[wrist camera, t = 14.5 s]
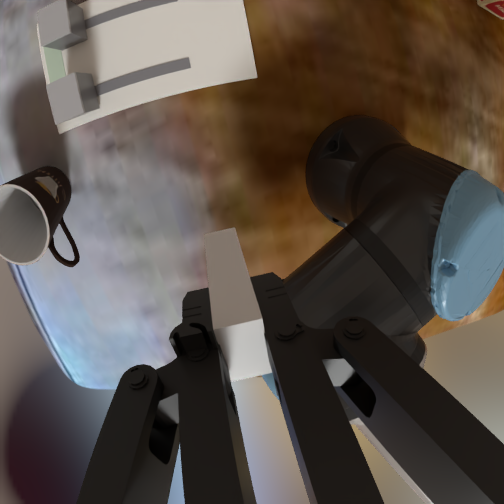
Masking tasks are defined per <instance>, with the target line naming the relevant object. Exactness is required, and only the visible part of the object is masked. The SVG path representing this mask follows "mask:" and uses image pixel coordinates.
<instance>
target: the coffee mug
mask: <svg viewBox="0 0 504 504" xmlns="http://www.w3.org/2000/svg"><path fill="white" fill-rule="evenodd" d="M70 199H71V186H70V183H69V180H68V179H67V177H66V176H65V174H64V173H63V172H62V171H61V170H59V169H57V168H55V167H51V166H46V167H42V168H39V169H37V170H35V171H32V172H30V173H27V174H25V175H23V176H20V177H18V178H16V179H14V180H11V181H9V182H7V183H5V184H3V185H0V256H1V257H2V258H3V259H5V260H7V261H8V262H11V263H13V264H17V265H29V264H33V263H35V262H36V261H38V260H39V259H40V258H41V257H42V256H43V255H44V253H45V252H46V250H47V248H48V247H49V249H50V251H51V252H52V254H53V255H54V257H55V258H56V260H57V261H59V262H60V263H62V264H63V265H65V266H68V267H74V266H75V265H76V264H77V263H78V262H79V259H80V257H79V252H78V249H77V247H76V244H75V242H74V240H73V238H72V236H71V234H70V232H69V230H68V228H67V227H66V225H65V223H64V220H63V214H64V212H65V210H66V208H67V206H68V204H69V202H70ZM58 224H60V225H61V227H62V229H63V231H64V233H65V234H66V236H67V238H68V240H69V242H70V244H71V246H72V249H73V252H74V256H75V259H74V261H69V260H66V259H64V258H63V257H62V256H61V255H60V254H59V253H58V252H57V250H56V248H55V246H54V238H53V235H54V233H55V230H56V228H57V226H58Z"/></svg>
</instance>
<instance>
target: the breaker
mask: <svg viewBox="0 0 504 504" xmlns="http://www.w3.org/2000/svg"><path fill="white" fill-rule="evenodd" d="M46 89H47V93H48V98H49V102H50V106H51V110H52V114H53V118H54V121H55V125H57V124H60V123H62V122H65V121H68V120H71V119H74V118H76V117H79V116H81V115H84V114H86V113H89V112H91V111H94V110H97V109H99V108H100V107H99V103H98V99H97V94H96V90H95V86H94V81H93V77H92V74H89V73H79V72H74V73H71V74H69V75H67V76H65V77H62V78H60V79H58V80H56V81H54V82H52V83H50V84H48V85H46Z"/></svg>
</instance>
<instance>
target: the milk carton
mask: <svg viewBox="0 0 504 504" xmlns="http://www.w3.org/2000/svg"><path fill="white" fill-rule="evenodd" d="M477 4H478V5H479V6H480V7H482V8H484V9H486V10H487V11H489V12H490V13H492V14H494V15H495V16H497V17H499V18H500V19H504V0H477Z"/></svg>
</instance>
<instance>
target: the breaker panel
mask: <svg viewBox="0 0 504 504" xmlns="http://www.w3.org/2000/svg"><path fill="white" fill-rule="evenodd" d="M78 6H79V7H81V8H82V9H83V13H84V20H85V26H86V32H87V38H88V40H86V41H83V42H81V43H79V44H76V45H74V46H72V47H69V48H67V49H65V50H63V51H62V50H57V49H52V48H48V47H43V46H41V41H40V34H39V26H38V24H37V32H38V39H39V46H40V52H41V58H42V64H43V69H44V74H45V79H46V84H47V85H48V84H50V83H52V82H54V81H56V80H58V79H60V78H62V77H65V76H67V75H69V74H71V73H74V72H79V73H89V74H92V77H93V81H94V86H95V90H96V94H97V99H98V103H99V107H100V108H99V109H97V110H94V111H91V112H89V113H86V114H84V115H81V116H79V117H76V118H74V119H71V120H68V121H65V122H62V123H60V124H57V128H58V132H59V134H61V133H63V132H66V131H68V130H70V129H73V128H75V127H78V126H80V125H82V124H85V123H88V122H90V121H93V120H95V119H98V118H101V117H103V116H106V115H109V114H112V113H115V112H118V111H121V110H124V109H127V108H130V107H133V106H136V105H139V104H143V103H146V102H149V101H153V100H156V99H160V98H163V97H167V96H171V95H175V94H179V93H183V92H187V91H191V90H195V89H200V88H204V87H209V86H214V85H219V84H224V83H229V82H235V81H241V80H247V79H253V78H257V72H256V67H255V61H254V56H253V50H252V45H251V39H250V34H249V29H248V24H247V19H246V14H245V9H244V4H243V0H88V1H85V2H83V3H80V4H78Z"/></svg>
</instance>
